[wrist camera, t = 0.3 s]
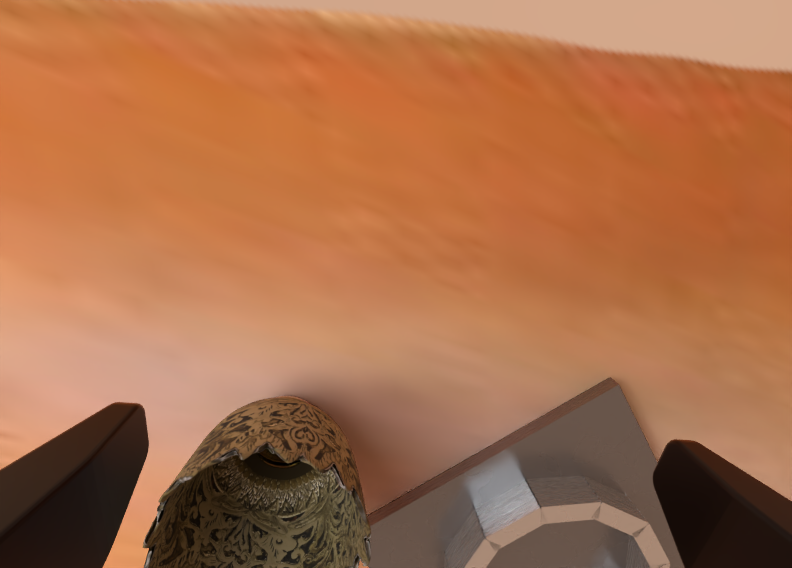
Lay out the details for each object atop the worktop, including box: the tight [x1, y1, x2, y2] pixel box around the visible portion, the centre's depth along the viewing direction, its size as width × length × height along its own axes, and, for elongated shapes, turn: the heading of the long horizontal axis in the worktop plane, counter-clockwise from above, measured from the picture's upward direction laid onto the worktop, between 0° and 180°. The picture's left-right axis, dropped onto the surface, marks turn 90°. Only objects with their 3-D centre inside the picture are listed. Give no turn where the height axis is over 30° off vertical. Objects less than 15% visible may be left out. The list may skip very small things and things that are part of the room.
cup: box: [143, 396, 371, 568], centre depth 19 cm, size 8×7×8 cm
